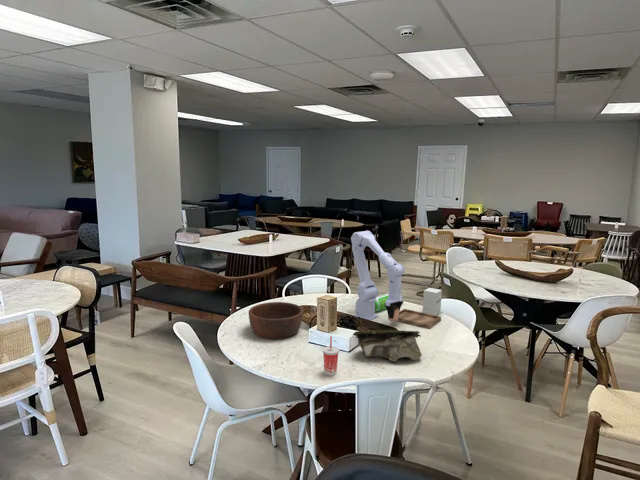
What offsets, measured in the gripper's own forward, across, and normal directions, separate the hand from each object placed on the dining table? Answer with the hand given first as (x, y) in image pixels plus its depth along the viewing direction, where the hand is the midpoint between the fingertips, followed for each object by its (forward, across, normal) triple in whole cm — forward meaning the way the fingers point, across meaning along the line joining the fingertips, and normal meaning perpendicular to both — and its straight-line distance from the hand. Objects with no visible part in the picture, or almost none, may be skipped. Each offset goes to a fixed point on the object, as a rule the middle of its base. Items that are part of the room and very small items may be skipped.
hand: (393, 316), depth 202 cm
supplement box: (+5, +29, -8) cm, 30 cm away
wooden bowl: (+5, -40, +40) cm, 57 cm away
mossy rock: (+5, -33, -13) cm, 36 cm away
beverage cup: (+5, -58, -3) cm, 58 cm away
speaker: (+5, +19, +16) cm, 25 cm away
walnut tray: (+4, +14, -6) cm, 15 cm away
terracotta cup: (+2, 0, 0) cm, 2 cm away
